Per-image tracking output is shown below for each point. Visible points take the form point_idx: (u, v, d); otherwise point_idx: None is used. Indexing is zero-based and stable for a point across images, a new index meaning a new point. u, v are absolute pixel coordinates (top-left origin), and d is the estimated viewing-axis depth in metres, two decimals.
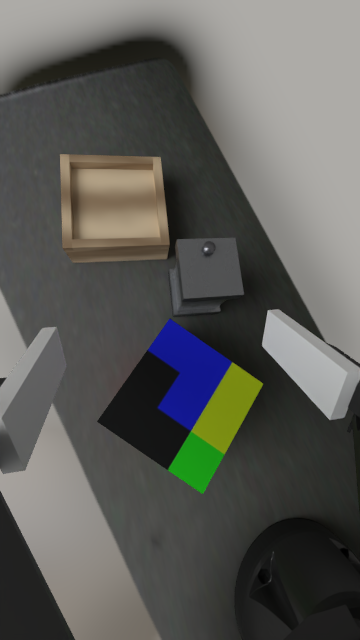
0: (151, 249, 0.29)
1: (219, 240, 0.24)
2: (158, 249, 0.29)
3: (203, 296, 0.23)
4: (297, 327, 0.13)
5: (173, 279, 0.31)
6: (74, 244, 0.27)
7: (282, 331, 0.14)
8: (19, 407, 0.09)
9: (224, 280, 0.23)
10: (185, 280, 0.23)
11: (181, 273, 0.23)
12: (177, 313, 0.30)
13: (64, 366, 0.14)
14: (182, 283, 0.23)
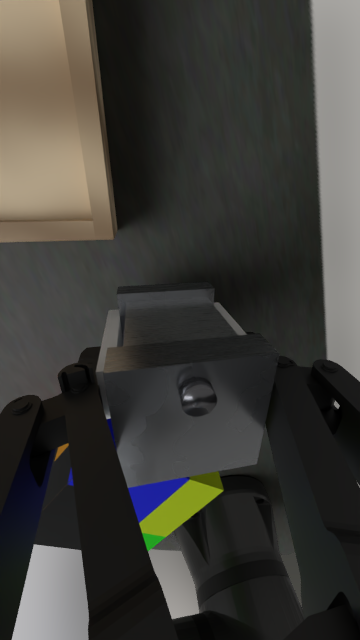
0: None
1: (232, 364, 0.08)
2: None
3: (168, 478, 0.10)
4: (226, 317, 0.15)
5: None
6: None
7: None
8: None
9: (222, 447, 0.10)
10: (128, 460, 0.09)
11: (118, 446, 0.09)
12: None
13: None
14: (120, 463, 0.10)
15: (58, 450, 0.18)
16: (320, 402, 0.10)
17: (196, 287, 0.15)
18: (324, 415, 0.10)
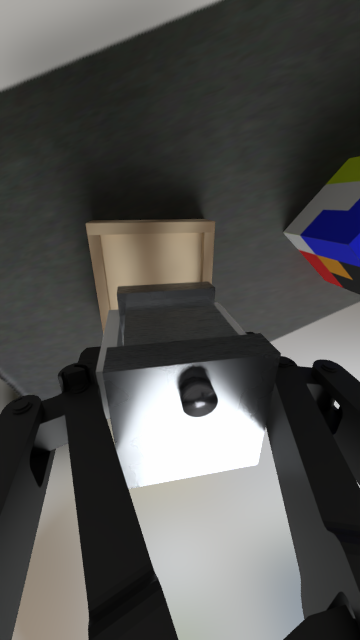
0: None
1: (233, 364, 0.08)
2: None
3: (168, 479, 0.10)
4: (226, 317, 0.15)
5: None
6: None
7: None
8: None
9: (222, 448, 0.10)
10: (128, 461, 0.09)
11: (118, 447, 0.09)
12: None
13: None
14: None
15: (346, 276, 0.27)
16: (320, 402, 0.10)
17: (196, 287, 0.15)
18: (324, 415, 0.10)
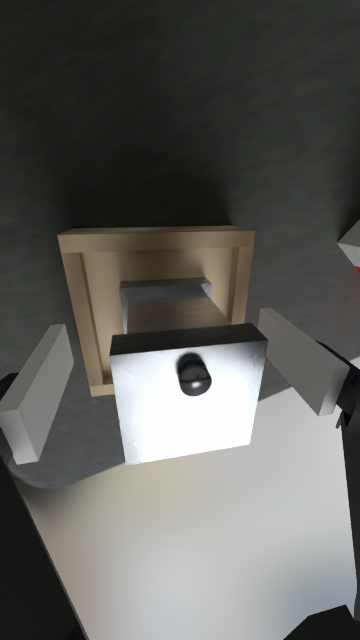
0: None
1: (226, 349, 0.09)
2: None
3: (168, 456, 0.11)
4: (288, 325, 0.14)
5: (127, 309, 0.16)
6: None
7: (274, 329, 0.14)
8: (32, 400, 0.09)
9: (217, 427, 0.11)
10: (131, 438, 0.10)
11: (122, 425, 0.10)
12: None
13: (72, 362, 0.15)
14: (124, 441, 0.10)
15: None
16: None
17: (194, 282, 0.16)
18: None
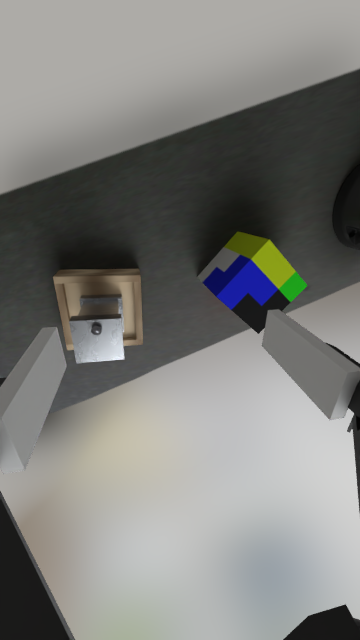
0: None
1: (107, 321, 0.29)
2: None
3: (92, 361, 0.31)
4: (297, 327, 0.13)
5: None
6: (140, 338, 0.40)
7: (282, 331, 0.14)
8: (19, 407, 0.09)
9: (109, 350, 0.31)
10: (77, 351, 0.30)
11: (74, 346, 0.30)
12: None
13: (64, 366, 0.14)
14: (75, 353, 0.30)
15: None
16: None
17: (114, 296, 0.36)
18: None
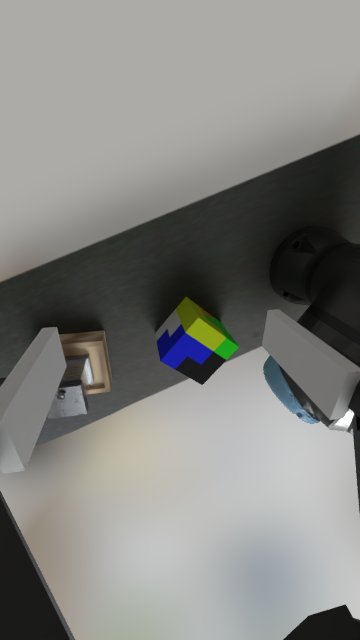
0: (104, 347, 0.46)
1: (69, 388, 0.38)
2: (103, 343, 0.46)
3: (61, 416, 0.40)
4: (297, 327, 0.13)
5: None
6: (108, 386, 0.49)
7: (282, 331, 0.14)
8: (19, 407, 0.09)
9: (74, 408, 0.39)
10: None
11: None
12: None
13: (64, 366, 0.14)
14: None
15: None
16: None
17: (82, 358, 0.45)
18: None
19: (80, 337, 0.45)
